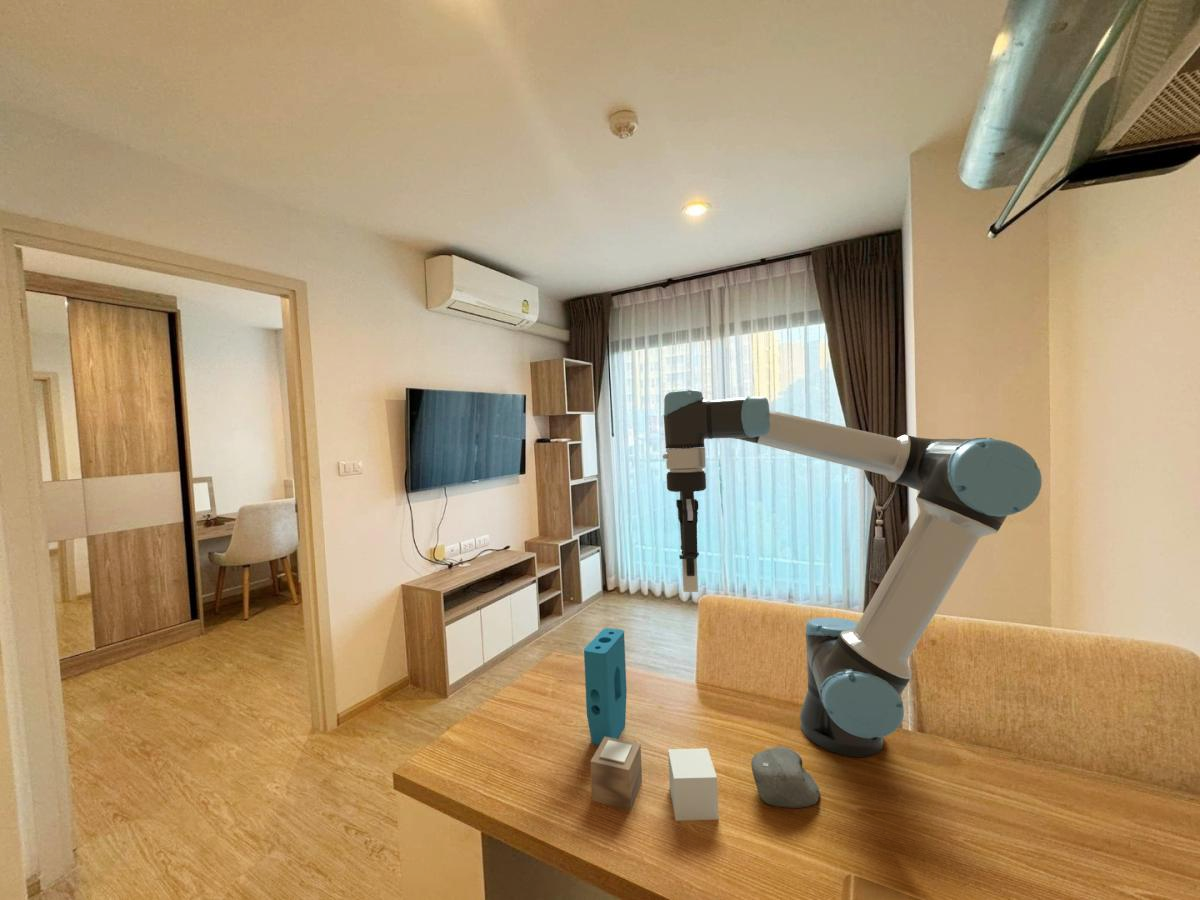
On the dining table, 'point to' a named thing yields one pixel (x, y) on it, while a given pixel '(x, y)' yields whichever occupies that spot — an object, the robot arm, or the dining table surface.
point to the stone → (783, 779)
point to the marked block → (616, 773)
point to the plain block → (693, 784)
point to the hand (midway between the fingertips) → (690, 590)
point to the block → (605, 684)
